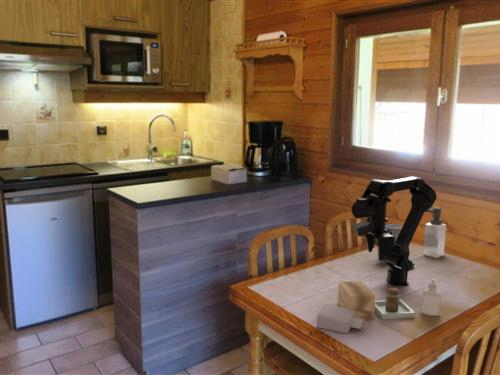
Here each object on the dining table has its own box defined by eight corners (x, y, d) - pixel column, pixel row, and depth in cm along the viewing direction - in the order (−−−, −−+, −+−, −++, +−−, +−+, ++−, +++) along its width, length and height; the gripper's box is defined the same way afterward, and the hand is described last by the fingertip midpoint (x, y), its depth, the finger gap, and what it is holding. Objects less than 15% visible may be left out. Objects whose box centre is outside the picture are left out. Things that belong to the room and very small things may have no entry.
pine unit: (359, 301, 161) (360, 280, 159) (373, 318, 148) (375, 295, 147) (337, 303, 159) (338, 281, 158) (350, 320, 147) (351, 296, 146)
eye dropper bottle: (434, 318, 149) (437, 283, 146) (418, 312, 153) (421, 278, 151) (441, 314, 151) (444, 280, 149) (426, 308, 156) (428, 275, 153)
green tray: (400, 304, 159) (400, 299, 159) (414, 317, 149) (415, 312, 149) (370, 305, 158) (370, 301, 157) (382, 319, 148) (382, 314, 148)
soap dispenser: (425, 250, 215) (428, 204, 211) (443, 255, 209) (447, 208, 205) (418, 253, 211) (422, 206, 207) (436, 258, 205) (441, 210, 200)
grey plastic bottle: (365, 340, 136) (316, 328, 142) (371, 326, 144) (325, 316, 150) (366, 325, 135) (317, 314, 141) (372, 312, 143) (326, 302, 150)
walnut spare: (394, 306, 156) (395, 287, 155) (400, 312, 152) (402, 292, 151) (383, 307, 155) (384, 287, 154) (389, 312, 151) (390, 292, 150)
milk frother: (386, 253, 210) (388, 222, 207) (421, 261, 201) (424, 228, 198) (374, 262, 199) (376, 229, 196) (410, 270, 190) (413, 236, 187)
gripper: (347, 209, 173) (345, 248, 176) (366, 222, 155) (363, 266, 158) (375, 208, 175) (372, 247, 178) (397, 221, 157) (394, 264, 160)
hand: (375, 256), depth 169 cm, fingers open, 9 cm apart
